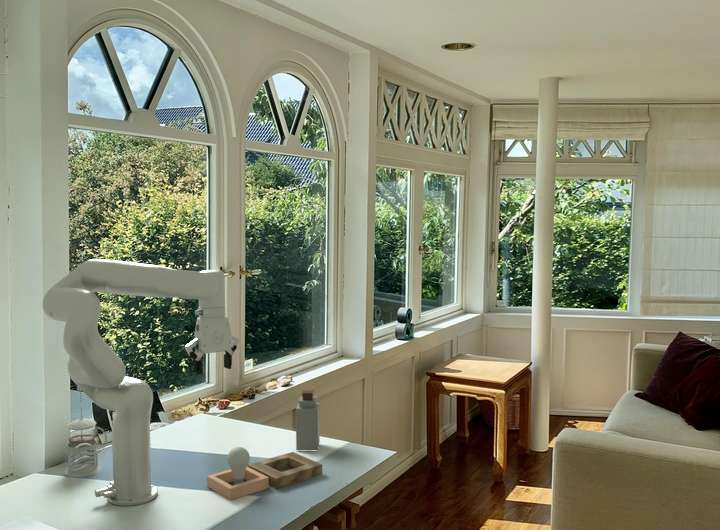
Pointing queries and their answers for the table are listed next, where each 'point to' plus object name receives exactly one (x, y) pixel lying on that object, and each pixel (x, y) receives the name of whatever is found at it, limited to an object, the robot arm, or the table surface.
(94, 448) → the french press
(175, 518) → the table surface
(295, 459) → the walnut holder
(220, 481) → the terracotta stand
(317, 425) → the perfume bottle
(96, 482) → the table surface
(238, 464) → the lightbulb
